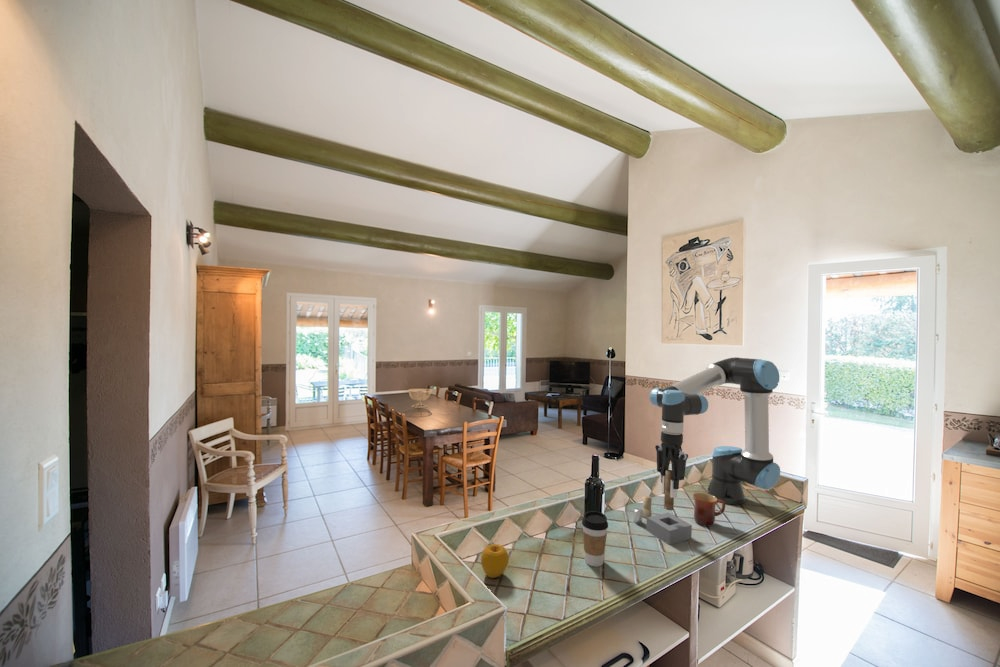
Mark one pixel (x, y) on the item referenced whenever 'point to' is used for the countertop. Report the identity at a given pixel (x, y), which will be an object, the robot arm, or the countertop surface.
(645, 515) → the beech pin
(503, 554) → the apple
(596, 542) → the coffee cup
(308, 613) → the countertop surface
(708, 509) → the mug
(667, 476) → the walnut pin
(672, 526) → the hole block
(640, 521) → the steel pin
